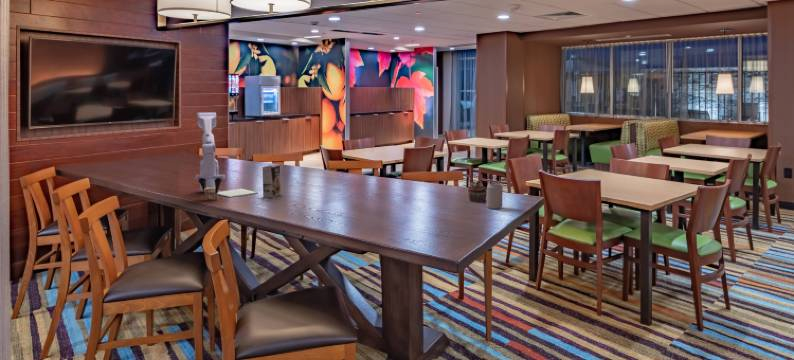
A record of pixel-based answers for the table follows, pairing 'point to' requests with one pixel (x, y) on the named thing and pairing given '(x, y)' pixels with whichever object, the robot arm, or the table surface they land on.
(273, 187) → the coffee box
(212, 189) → the stool
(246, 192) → the mat
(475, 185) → the cupcake
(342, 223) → the table surface
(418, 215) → the table surface
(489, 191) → the can
